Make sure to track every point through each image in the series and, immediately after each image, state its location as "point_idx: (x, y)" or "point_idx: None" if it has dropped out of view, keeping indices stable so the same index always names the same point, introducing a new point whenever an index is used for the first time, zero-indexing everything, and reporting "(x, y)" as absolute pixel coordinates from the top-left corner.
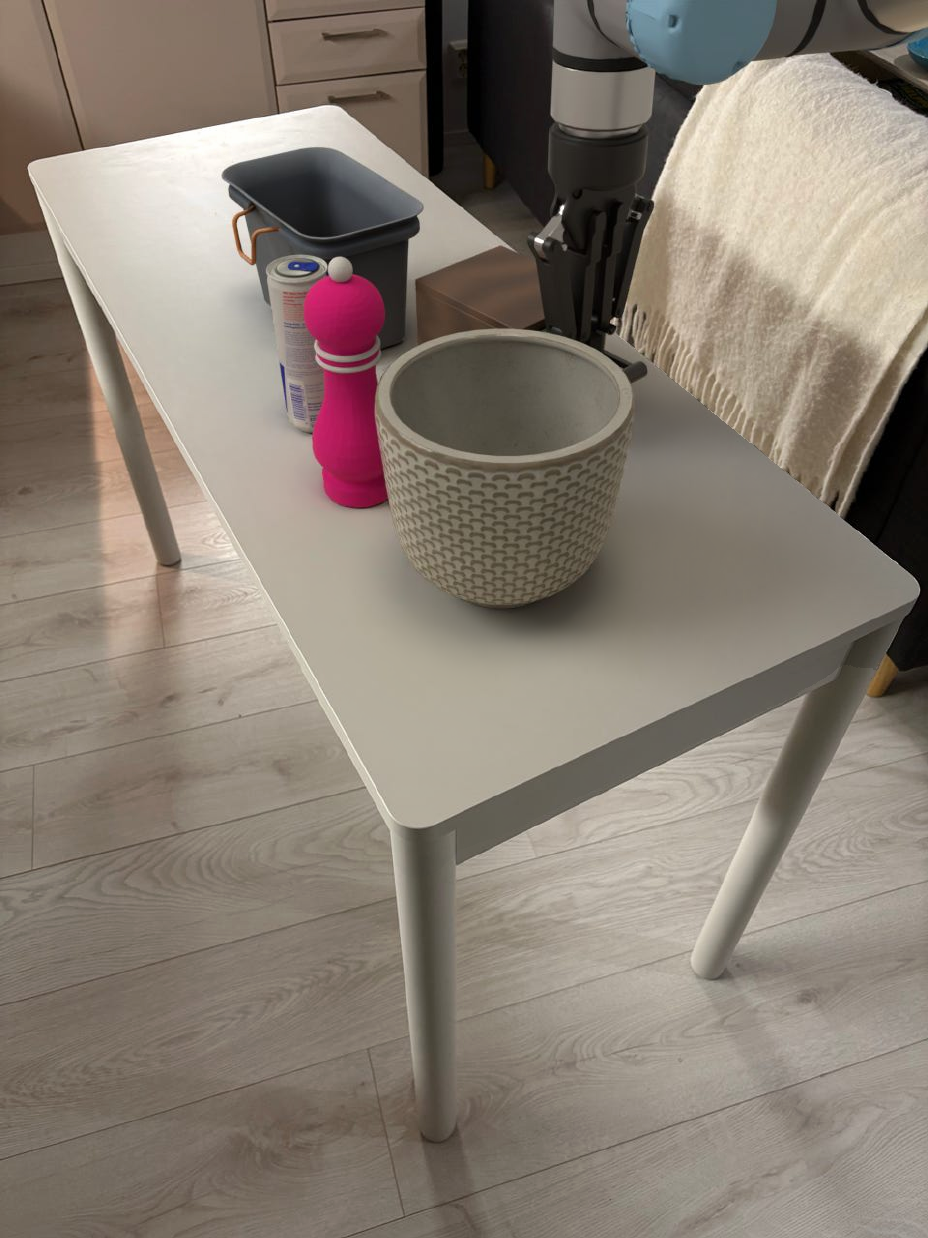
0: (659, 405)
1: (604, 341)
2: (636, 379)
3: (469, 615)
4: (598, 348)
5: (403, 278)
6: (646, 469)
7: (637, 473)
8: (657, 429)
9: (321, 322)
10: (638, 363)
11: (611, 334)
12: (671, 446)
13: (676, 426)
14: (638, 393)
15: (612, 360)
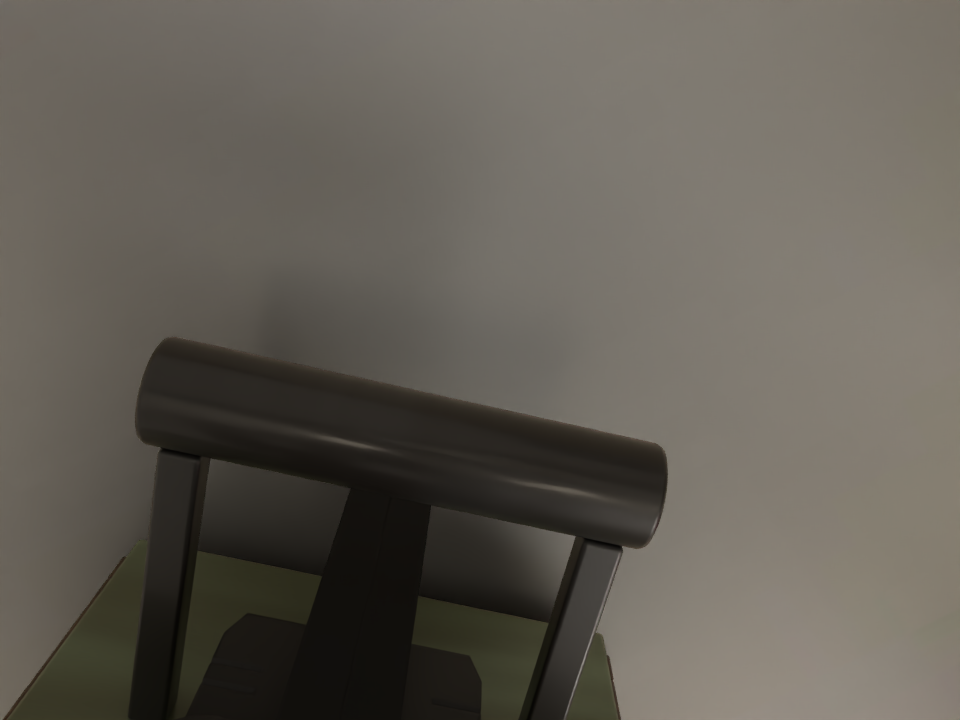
0: (69, 246)
1: (39, 690)
2: (276, 360)
3: None
4: (314, 693)
5: None
6: (599, 43)
7: (652, 66)
8: (258, 158)
9: None
10: (177, 419)
11: (218, 717)
12: (347, 27)
13: (173, 88)
14: (50, 374)
15: (193, 567)
